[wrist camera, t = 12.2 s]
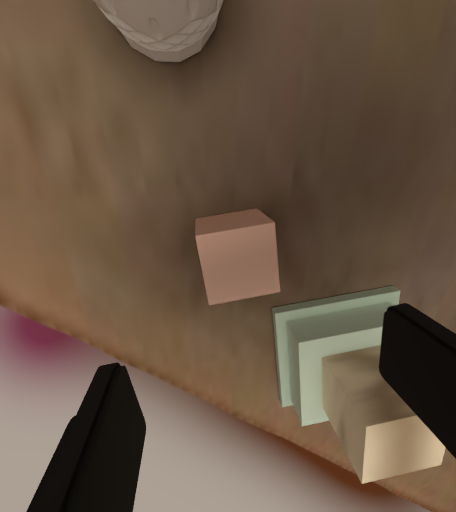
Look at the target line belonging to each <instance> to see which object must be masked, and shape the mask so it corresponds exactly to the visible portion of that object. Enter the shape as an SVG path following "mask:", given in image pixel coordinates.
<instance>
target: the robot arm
mask: <svg viewBox="0 0 456 512" xmlns="http://www.w3.org/2000/svg"><path fill="white" fill-rule="evenodd" d="M379 372H380V374H381V376H382V377H383V379H384V380H385V381H386V382H387V383H388V384H389V385H390V386H391V388H392V389H393V390H394V391H395V392H396V393H397V394H398V395H399V396H400V398H401V399H402V400H403V401H404V402H405V403H406V404H407V405H408V406H409V407H410V409H411V410H412V411H413V412H414V413H415V414H416V415H417V416H418V417H419V418H420V420H421V421H422V422H423V423H424V424H425V425H426V426H427V427H428V428H429V430H430V431H431V432H432V433H433V434H434V435H435V436H436V437H437V438H438V439H439V441H440V442H441V443H442V444H443V445H444V446H445V447H446V448H447V449H448V451H449V452H450V453H451V454H452V455H453V456H454V457H455V458H456V334H455V333H453V332H452V331H450V330H449V329H447V328H445V327H444V326H442V325H441V324H439V323H438V322H436V321H434V320H433V319H431V318H430V317H428V316H427V315H425V314H423V313H422V312H420V311H419V310H417V309H416V308H414V307H412V306H411V305H409V304H406V303H403V304H398V305H394V306H390V307H388V308H387V311H386V312H385V313H384V317H383V328H382V338H381V348H380V359H379ZM145 434H146V423H145V419H144V416H143V413H142V411H141V408H140V405H139V402H138V400H137V397H136V394H135V391H134V388H133V386H132V383H131V380H130V377H129V374H128V372H127V369H126V367H125V366H120V364H119V363H112V364H107V365H103V366H100V367H98V369H97V371H96V373H95V375H94V378H93V380H92V382H91V384H90V386H89V389H88V391H87V393H86V395H85V397H84V400H83V401H82V404H81V406H80V408H79V410H78V412H77V415H76V416H74V417H73V418H72V419H71V420H70V422H69V423H68V425H67V427H66V429H65V431H64V434H63V436H62V438H61V440H60V442H59V444H58V446H57V449H56V451H55V453H54V455H53V457H52V459H51V461H50V463H49V465H48V467H47V470H46V472H45V474H44V476H43V478H42V480H41V482H40V484H39V486H38V489H37V491H36V493H35V495H34V497H33V499H32V501H31V503H30V505H29V508H28V510H27V512H133V505H134V500H135V494H136V488H137V481H138V476H139V469H140V464H141V458H142V452H143V446H144V440H145Z"/></svg>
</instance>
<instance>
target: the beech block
mask: <svg viewBox="0 0 456 512" xmlns="http://www.w3.org/2000/svg"><path fill="white" fill-rule="evenodd" d="M380 348H381V345H378V346H373V347H368V348H363V349H359V350H354V351H349V352H344V353H339V354H335V355H330V356H325V357H322V402H323V409H324V411H325V413H326V415H327V417H328V419H329V421H330V423H331V424H332V426H333V428H334V430H335V432H336V434H337V436H338V438H339V440H340V442H341V444H342V446H343V448H344V450H345V452H346V454H347V456H348V458H349V460H350V462H351V464H352V465H353V467H354V469H355V471H356V473H357V475H358V477H359V479H360V481H361V483H362V484H363V483H367V482H371V481H375V480H380V479H384V478H388V477H392V476H396V475H400V474H405V473H409V472H413V471H417V470H421V469H425V468H429V467H434V466H438V465H441V463H442V459H443V455H444V451H445V448H446V447H445V446H444V445H443V444H442V443H441V442H440V441H439V439H438V438H437V437H436V436H435V435H434V434H433V433H432V432H431V431H430V430H429V428H428V427H427V426H426V425H425V424H424V423H423V422H422V421H421V420H420V418H419V417H418V416H417V415H416V414H415V413H414V412H413V411H412V410H411V409H410V407H409V406H408V405H407V404H406V403H405V402H404V401H403V400H402V399H401V398H400V396H399V395H398V394H397V393H396V392H395V391H394V390H393V389H392V388H391V386H390V385H389V384H388V383H387V382H386V381H385V380H384V379H383V377H382V376H381V374H380V372H379V359H380Z"/></svg>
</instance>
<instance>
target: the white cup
mask: <svg viewBox="0 0 456 512" xmlns="http://www.w3.org/2000/svg"><path fill="white" fill-rule="evenodd" d="M92 1H93V2H94V3H95V4H96V5H97V6H98V7H99V9H100V10H101V11H102V12H103V14H104V15H105V16H106V18H107V19H108V20H109V21H110V22H111V23H113V24H114V25H115V26H116V27H117V29H118V30H119V31H120V33H121V34H122V35H123V37H124V38H125V39H126V41H127V42H128V43H129V45H130V46H131V47H132V48H134V49H135V50H137V51H139V52H140V53H142V54H144V55H146V56H147V57H149V58H151V59H152V60H154V61H159V62H181V61H183V60H185V59H187V58H189V57H191V56H192V55H194V54H196V53H198V52H200V51H201V50H202V48H203V47H204V45H205V43H206V42H207V40H208V39H209V37H210V36H211V34H212V33H213V31H214V30H215V27H216V23H217V19H218V14H219V11H220V9H221V6H222V4H223V1H224V0H92Z"/></svg>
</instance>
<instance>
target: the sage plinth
mask: <svg viewBox="0 0 456 512" xmlns="http://www.w3.org/2000/svg"><path fill="white" fill-rule="evenodd" d="M399 297H400V290H399V289H397V288H395V287H394V286H388V287H383V288H377V289H372V290H366V291H361V292H356V293H350V294H345V295H339V296H334V297H328V298H323V299H317V300H312V301H307V302H301V303H296V304H290V305H285V306H279V307H274V308H272V315H273V327H274V339H275V351H276V363H277V375H278V388H279V399H280V402H281V405H282V407H286V406H291V405H294V408H295V410H296V413H297V415H298V418H299V420H300V423H301V425H302V426H306V425H311V424H315V423H320V422H325V421H329V419H328V417H327V415H326V413H325V411H324V409H323V402H322V357H325V356H330V355H335V354H339V353H344V352H349V351H354V350H359V349H363V348H368V347H373V346H378V345H381V338H382V328H383V317H384V313H385V312H386V311H387V308H388V307H390V306H394V305H398V304H399Z"/></svg>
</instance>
